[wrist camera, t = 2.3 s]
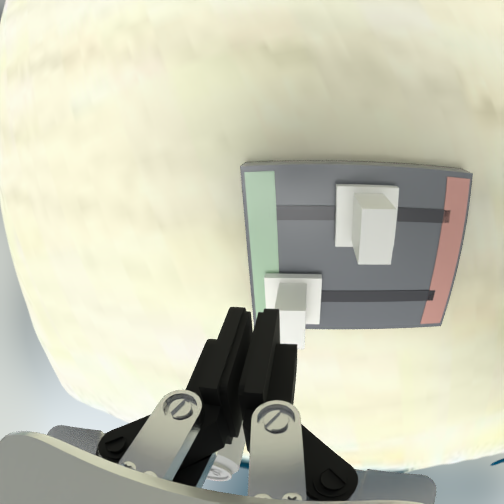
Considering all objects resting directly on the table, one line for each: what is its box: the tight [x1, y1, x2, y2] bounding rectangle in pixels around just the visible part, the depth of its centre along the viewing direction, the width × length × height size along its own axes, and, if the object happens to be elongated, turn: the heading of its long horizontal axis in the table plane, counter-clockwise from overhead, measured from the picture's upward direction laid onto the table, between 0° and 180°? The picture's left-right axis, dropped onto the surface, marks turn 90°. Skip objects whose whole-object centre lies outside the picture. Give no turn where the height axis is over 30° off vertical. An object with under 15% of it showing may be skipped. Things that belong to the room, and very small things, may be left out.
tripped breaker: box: [335, 184, 399, 265], centre depth 21 cm, size 5×5×5 cm
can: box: [206, 421, 245, 481], centre depth 35 cm, size 8×8×12 cm
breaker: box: [264, 273, 322, 349], centre depth 26 cm, size 5×5×5 cm
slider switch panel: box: [240, 161, 473, 329], centre depth 26 cm, size 20×16×2 cm
